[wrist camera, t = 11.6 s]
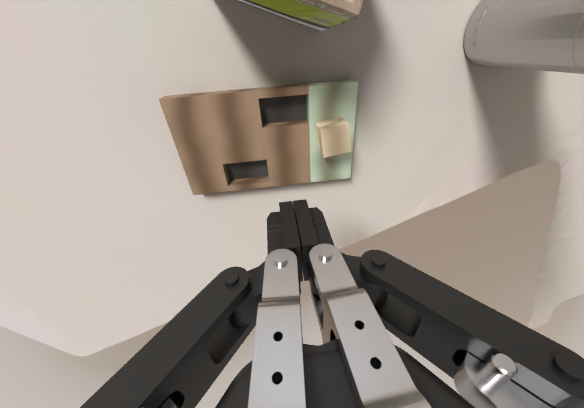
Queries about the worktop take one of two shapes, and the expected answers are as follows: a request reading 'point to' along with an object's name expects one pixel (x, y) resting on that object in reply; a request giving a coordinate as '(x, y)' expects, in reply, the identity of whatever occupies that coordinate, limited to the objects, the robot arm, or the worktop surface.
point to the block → (333, 136)
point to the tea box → (312, 11)
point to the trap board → (259, 135)
